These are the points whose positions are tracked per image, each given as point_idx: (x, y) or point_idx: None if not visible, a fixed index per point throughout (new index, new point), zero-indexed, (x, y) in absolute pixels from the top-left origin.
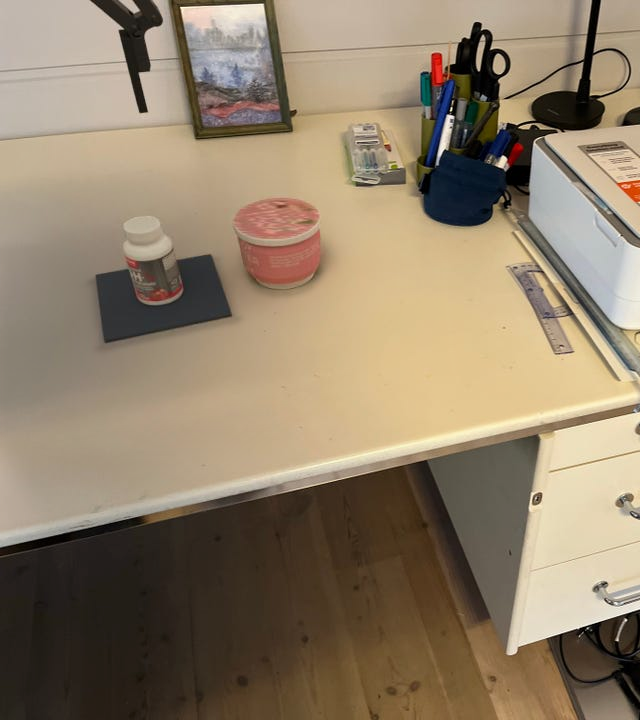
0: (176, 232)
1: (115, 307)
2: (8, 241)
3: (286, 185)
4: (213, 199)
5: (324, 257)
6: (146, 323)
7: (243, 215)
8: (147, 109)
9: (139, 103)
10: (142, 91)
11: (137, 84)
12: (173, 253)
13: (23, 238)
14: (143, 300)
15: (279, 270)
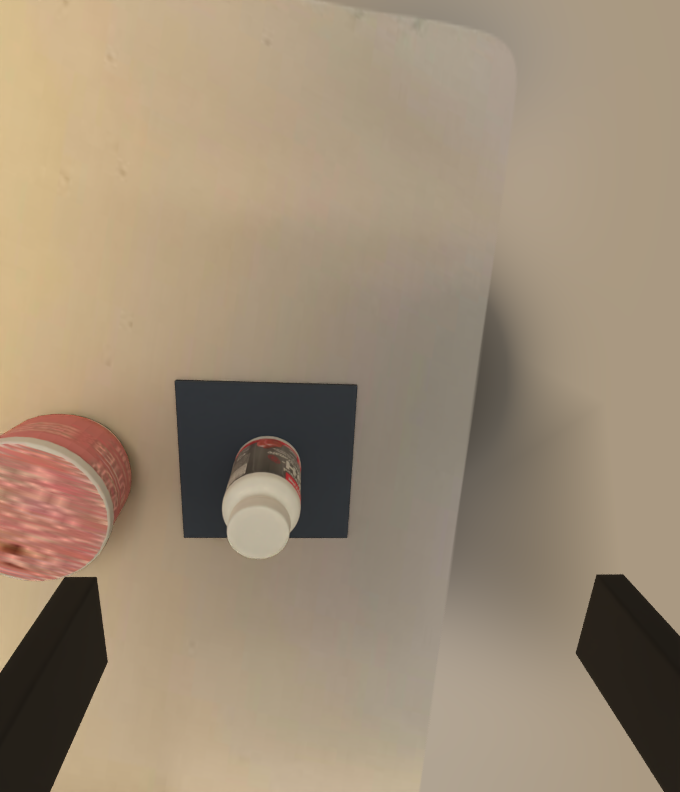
0: (226, 606)
1: (332, 454)
2: (439, 645)
3: None
4: (162, 672)
5: None
6: (297, 402)
7: (87, 540)
8: (60, 586)
9: (72, 604)
10: (25, 641)
11: (21, 665)
12: (226, 489)
13: (421, 646)
14: (293, 448)
15: (68, 422)
